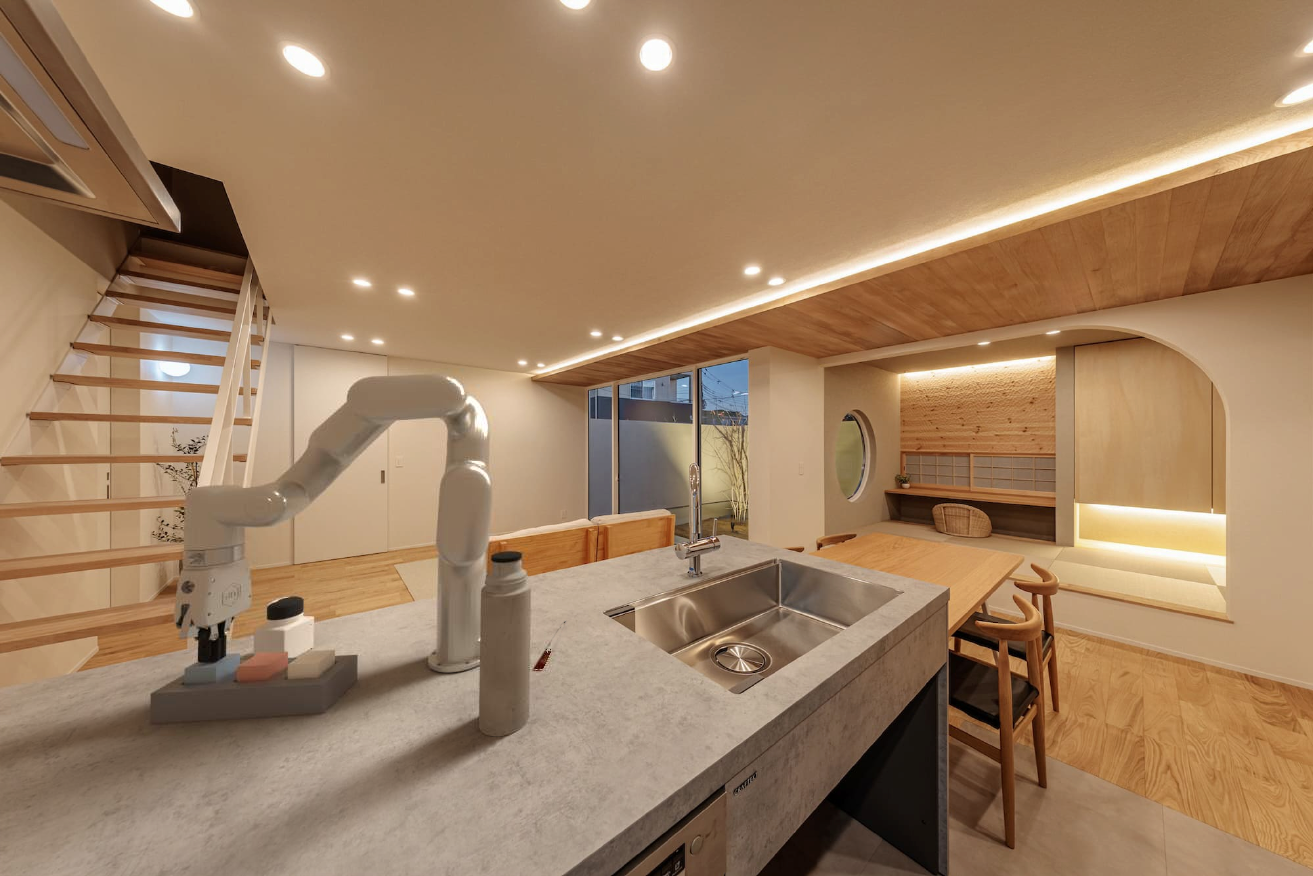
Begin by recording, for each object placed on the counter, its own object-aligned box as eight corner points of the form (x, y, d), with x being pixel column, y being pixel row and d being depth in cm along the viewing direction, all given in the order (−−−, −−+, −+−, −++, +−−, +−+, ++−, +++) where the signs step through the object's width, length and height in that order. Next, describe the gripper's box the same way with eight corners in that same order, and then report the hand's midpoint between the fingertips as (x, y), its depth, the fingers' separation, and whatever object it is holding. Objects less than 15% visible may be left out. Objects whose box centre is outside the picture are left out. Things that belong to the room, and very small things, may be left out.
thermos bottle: (500, 701, 76) (503, 545, 76) (538, 711, 74) (540, 550, 74) (467, 729, 69) (470, 557, 69) (508, 741, 66) (511, 562, 66)
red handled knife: (568, 622, 111) (568, 618, 111) (542, 672, 87) (543, 668, 87) (560, 622, 111) (560, 618, 111) (533, 672, 87) (533, 667, 87)
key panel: (357, 680, 82) (357, 654, 82) (323, 713, 72) (323, 684, 72) (207, 688, 79) (207, 661, 79) (150, 724, 69) (150, 693, 69)
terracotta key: (287, 670, 78) (288, 651, 78) (267, 685, 74) (267, 665, 74) (259, 671, 78) (259, 652, 78) (236, 687, 73) (236, 666, 73)
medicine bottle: (314, 648, 95) (315, 594, 95) (283, 664, 88) (284, 606, 88) (285, 646, 96) (286, 592, 96) (252, 662, 88) (253, 604, 89)
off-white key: (334, 668, 79) (334, 649, 79) (317, 683, 75) (317, 663, 75) (306, 670, 79) (306, 651, 79) (287, 684, 74) (287, 664, 74)
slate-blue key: (239, 672, 77) (240, 653, 77) (215, 687, 73) (216, 667, 73) (210, 673, 77) (210, 654, 77) (184, 689, 72) (184, 668, 72)
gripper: (198, 567, 68) (195, 682, 68) (271, 545, 83) (268, 639, 83) (145, 568, 67) (141, 685, 67) (228, 545, 82) (225, 641, 82)
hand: (211, 659), depth 75 cm, fingers closed
